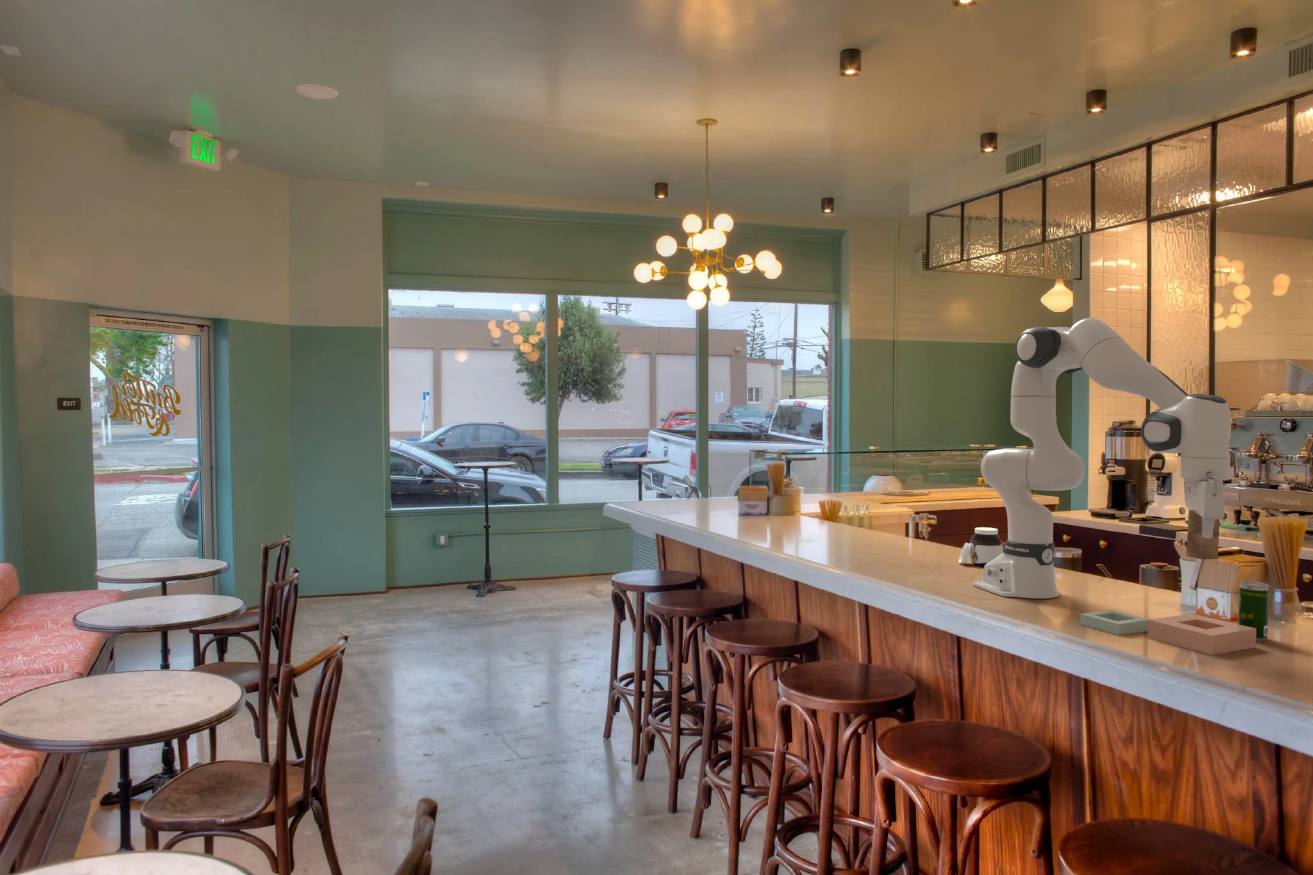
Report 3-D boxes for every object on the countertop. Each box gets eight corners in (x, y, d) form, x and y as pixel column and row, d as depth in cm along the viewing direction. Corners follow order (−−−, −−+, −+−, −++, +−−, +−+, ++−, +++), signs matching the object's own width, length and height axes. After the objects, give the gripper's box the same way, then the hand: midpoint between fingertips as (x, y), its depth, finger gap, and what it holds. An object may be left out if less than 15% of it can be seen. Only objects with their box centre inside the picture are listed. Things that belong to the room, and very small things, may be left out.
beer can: (1269, 637, 188) (1271, 583, 187) (1265, 642, 184) (1267, 587, 183) (1240, 633, 192) (1241, 579, 191) (1235, 638, 188) (1237, 583, 187)
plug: (1186, 556, 185) (1188, 509, 185) (1202, 556, 186) (1204, 509, 185) (1201, 559, 181) (1204, 511, 181) (1217, 559, 182) (1220, 512, 181)
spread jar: (1006, 567, 268) (1007, 530, 268) (974, 569, 265) (975, 532, 265) (983, 561, 280) (983, 525, 279) (952, 562, 277) (952, 526, 276)
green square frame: (1080, 624, 199) (1080, 613, 199) (1111, 620, 203) (1111, 609, 203) (1118, 635, 190) (1119, 624, 190) (1150, 630, 194) (1150, 619, 194)
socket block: (1148, 637, 188) (1148, 619, 187) (1191, 631, 193) (1191, 613, 193) (1211, 655, 175) (1211, 635, 175) (1255, 647, 180) (1256, 628, 180)
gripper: (1234, 474, 172) (1232, 543, 172) (1212, 467, 191) (1210, 530, 191) (1197, 473, 174) (1195, 541, 175) (1179, 467, 193) (1177, 528, 194)
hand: (1203, 535), depth 183 cm, fingers closed on plug, 6 cm apart
